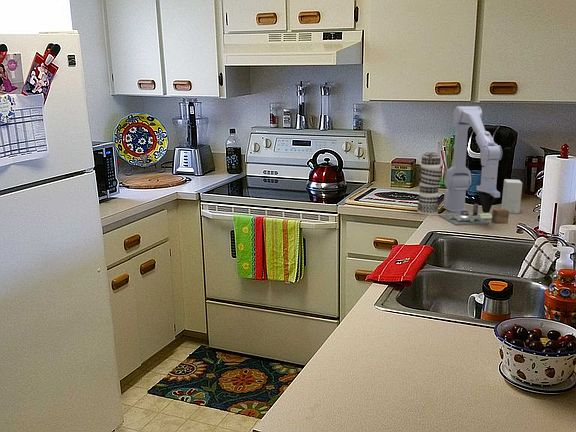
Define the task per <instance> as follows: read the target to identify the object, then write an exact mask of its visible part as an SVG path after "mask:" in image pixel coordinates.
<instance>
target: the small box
mask: <svg viewBox="0 0 576 432" xmlns="http://www.w3.org/2000/svg"><path fill="white" fill-rule="evenodd" d="M523 184H524V183H523V182H522V181H521V180H520V179H509V178H505V179H504V180H503V187H502V188H503V189H502V199H501V207H500V209H506V210H508V211H509V214H520V211H521V204H522V203H521V200H522V193H523Z"/></svg>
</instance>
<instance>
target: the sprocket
mask: <svg viewBox="0 0 576 432" xmlns="http://www.w3.org/2000/svg"><path fill="white" fill-rule="evenodd" d="M448 214H449V218H450V219H455V220H457V221H470V222H474V221H476V220H481V217H480V214H481V213H479V204H478V203H473V210H472V211H455V212H451V211H449V213H448Z"/></svg>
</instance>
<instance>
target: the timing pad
mask: <svg viewBox="0 0 576 432" xmlns="http://www.w3.org/2000/svg"><path fill="white" fill-rule="evenodd" d="M479 214H480V217H481V219H483V220H486V221H487V220H491V221H492V213H490V212H489V213H484V212H482V213H479Z"/></svg>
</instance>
